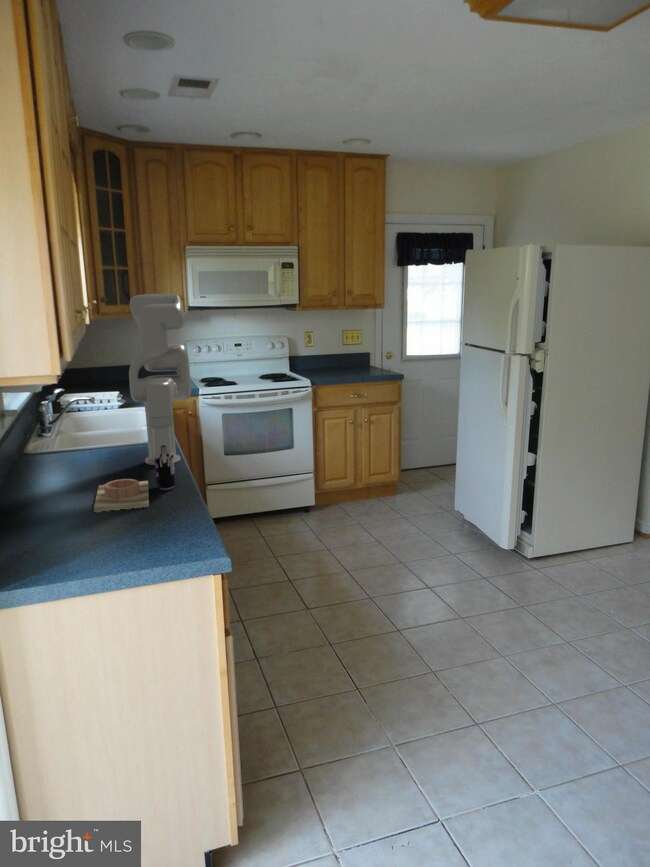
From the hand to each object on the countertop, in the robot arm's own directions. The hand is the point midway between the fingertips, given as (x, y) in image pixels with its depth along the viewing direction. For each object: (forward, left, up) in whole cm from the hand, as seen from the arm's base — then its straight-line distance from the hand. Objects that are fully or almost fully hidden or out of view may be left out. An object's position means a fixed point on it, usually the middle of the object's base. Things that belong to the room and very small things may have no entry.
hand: (165, 474), depth 199 cm
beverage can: (0, 0, -5) cm, 5 cm away
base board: (+6, -13, -5) cm, 15 cm away
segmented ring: (+6, -13, -3) cm, 15 cm away
